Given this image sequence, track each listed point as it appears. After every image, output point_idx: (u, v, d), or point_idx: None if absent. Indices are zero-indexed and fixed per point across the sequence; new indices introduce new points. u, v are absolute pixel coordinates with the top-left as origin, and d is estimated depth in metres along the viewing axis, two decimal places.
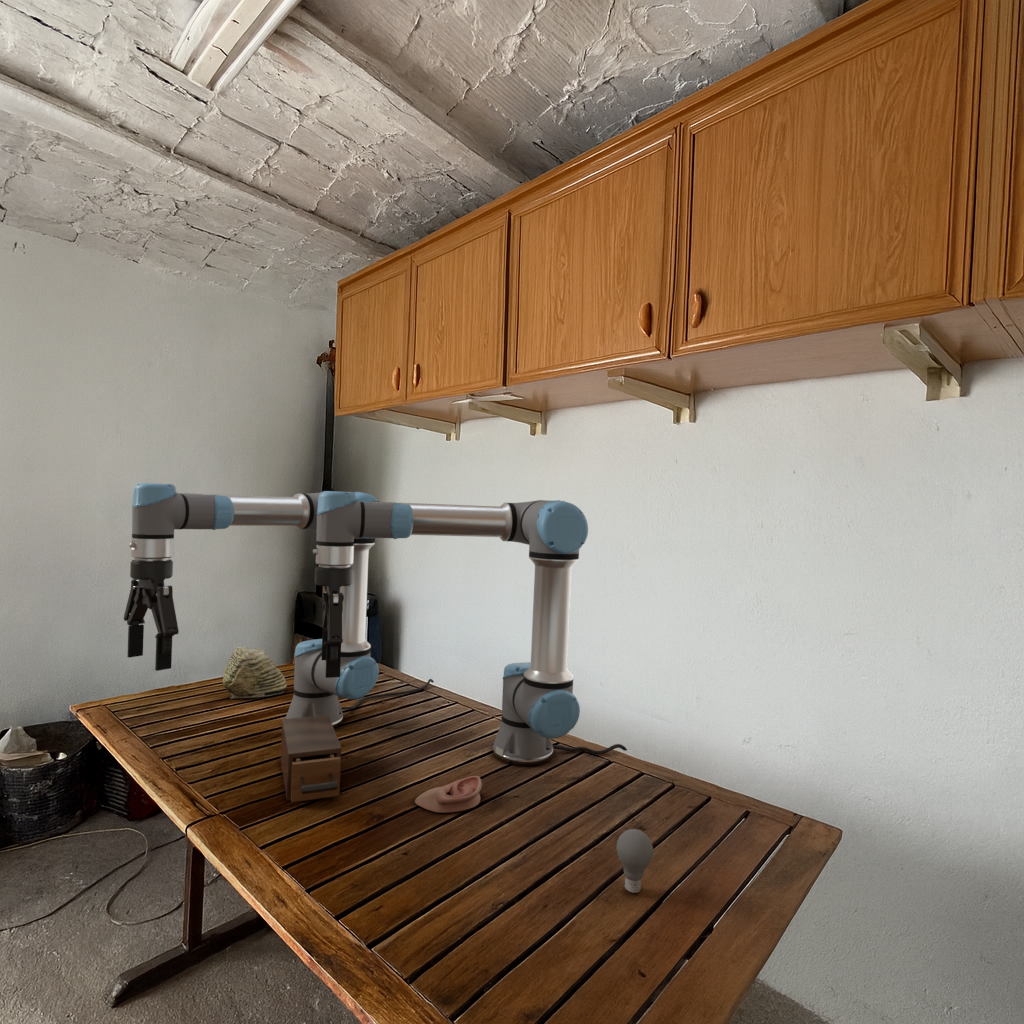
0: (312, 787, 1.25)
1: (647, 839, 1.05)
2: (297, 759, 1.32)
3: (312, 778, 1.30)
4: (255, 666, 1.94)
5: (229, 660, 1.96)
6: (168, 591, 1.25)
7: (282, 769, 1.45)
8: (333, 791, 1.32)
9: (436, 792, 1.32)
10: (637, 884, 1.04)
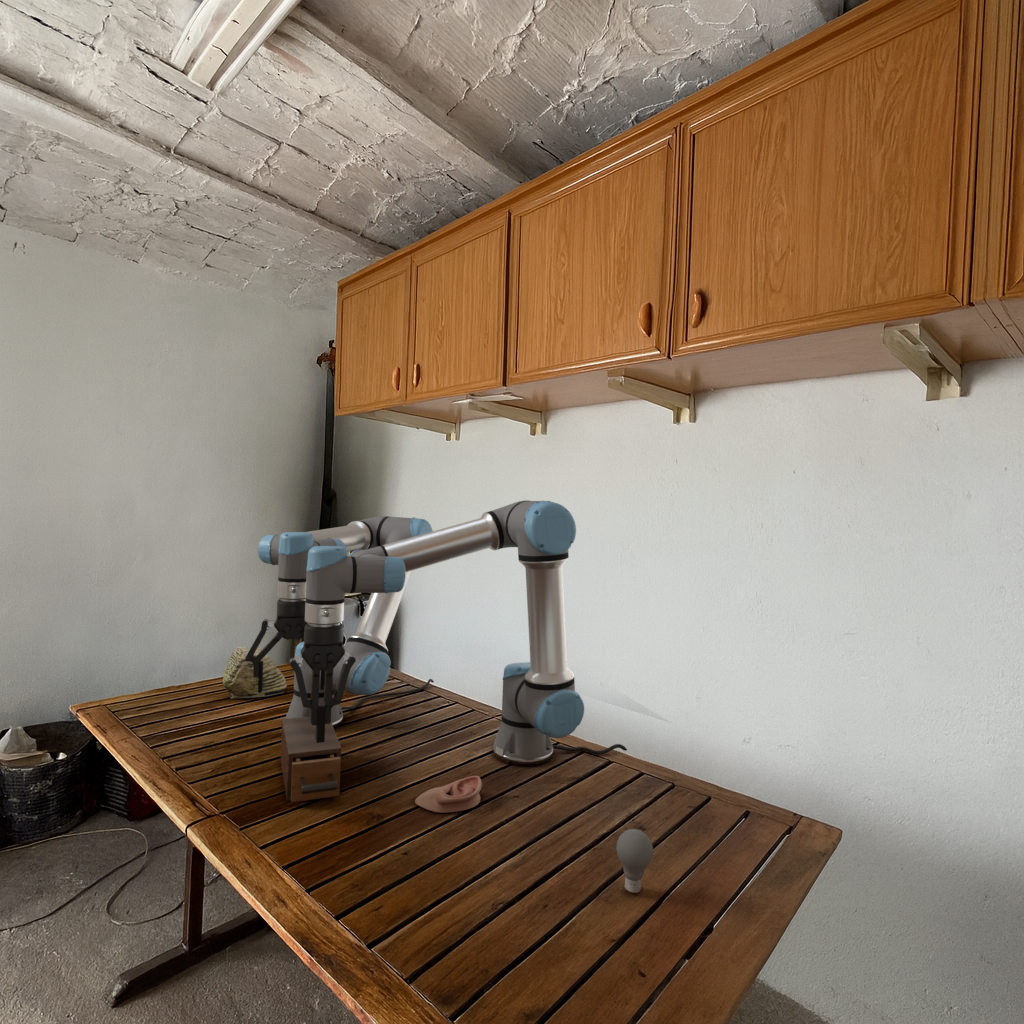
0: (312, 787, 1.24)
1: (647, 839, 1.05)
2: (297, 759, 1.32)
3: (312, 778, 1.30)
4: None
5: (229, 660, 1.96)
6: None
7: (282, 769, 1.45)
8: (333, 791, 1.32)
9: (436, 792, 1.32)
10: (637, 884, 1.04)
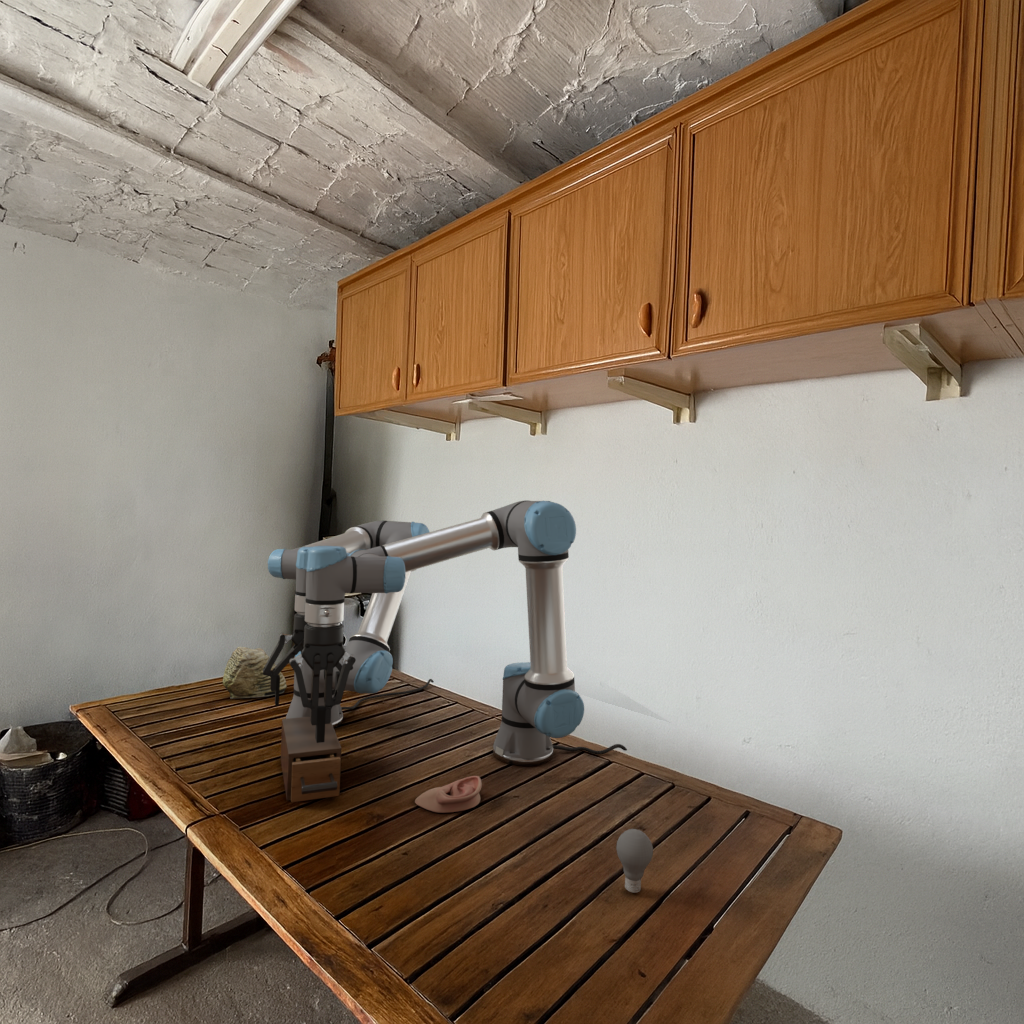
0: (312, 787, 1.24)
1: (647, 839, 1.05)
2: (297, 759, 1.32)
3: (312, 778, 1.30)
4: (255, 666, 1.94)
5: (229, 660, 1.96)
6: None
7: (282, 769, 1.45)
8: (333, 791, 1.32)
9: (436, 792, 1.32)
10: (637, 884, 1.04)
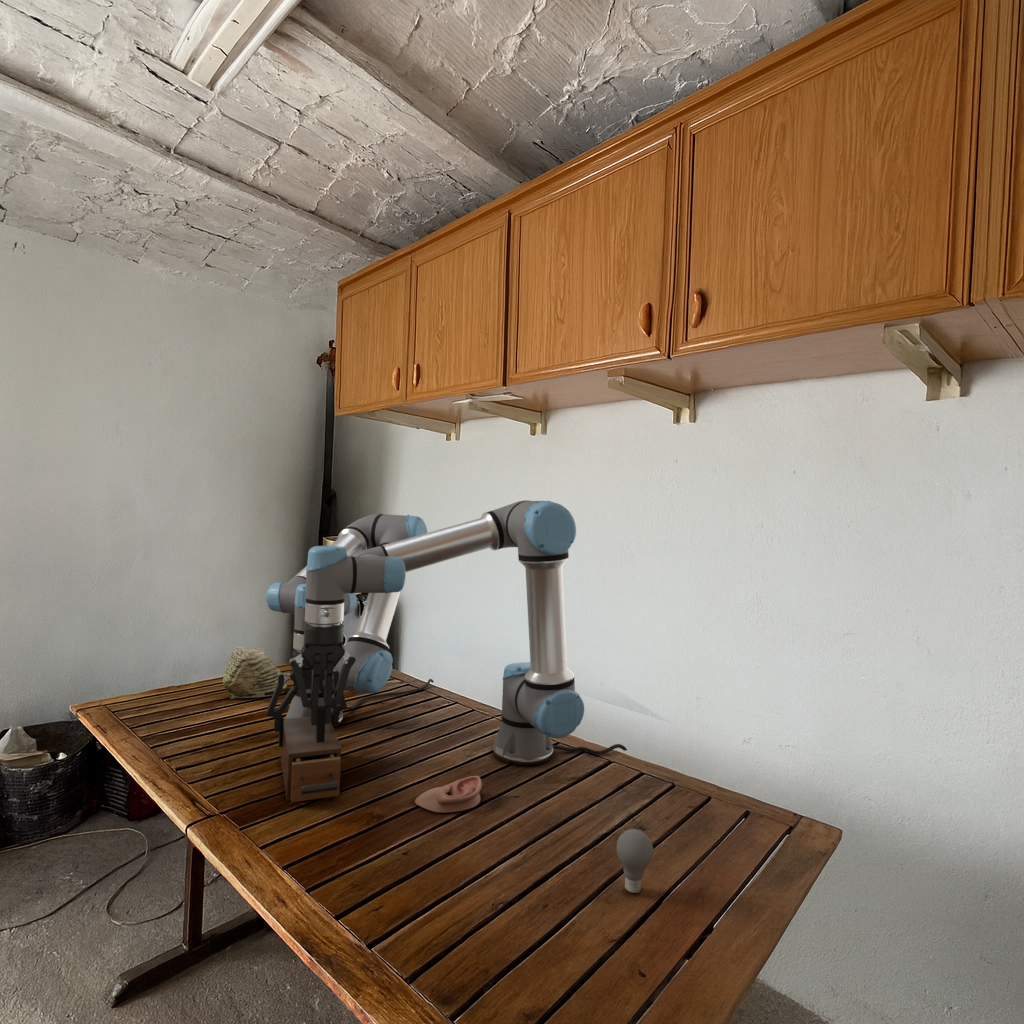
0: (312, 787, 1.24)
1: (647, 839, 1.05)
2: (297, 759, 1.32)
3: (312, 778, 1.30)
4: (255, 666, 1.94)
5: (229, 660, 1.96)
6: None
7: (282, 769, 1.45)
8: (333, 791, 1.32)
9: (436, 792, 1.32)
10: (637, 884, 1.04)
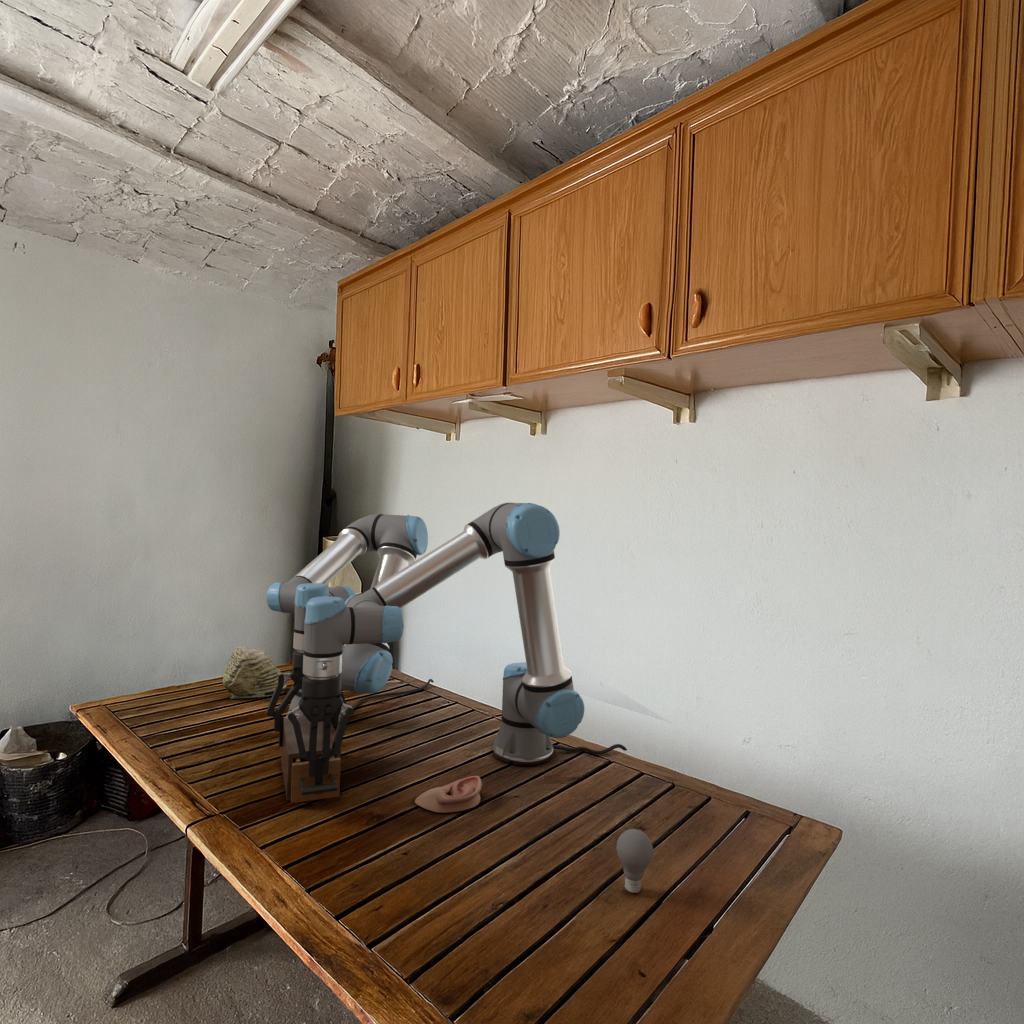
0: (312, 789, 1.24)
1: (647, 839, 1.05)
2: (297, 760, 1.32)
3: (312, 779, 1.30)
4: (255, 666, 1.94)
5: (229, 660, 1.96)
6: None
7: (282, 769, 1.45)
8: (333, 792, 1.32)
9: (436, 792, 1.32)
10: (637, 884, 1.04)
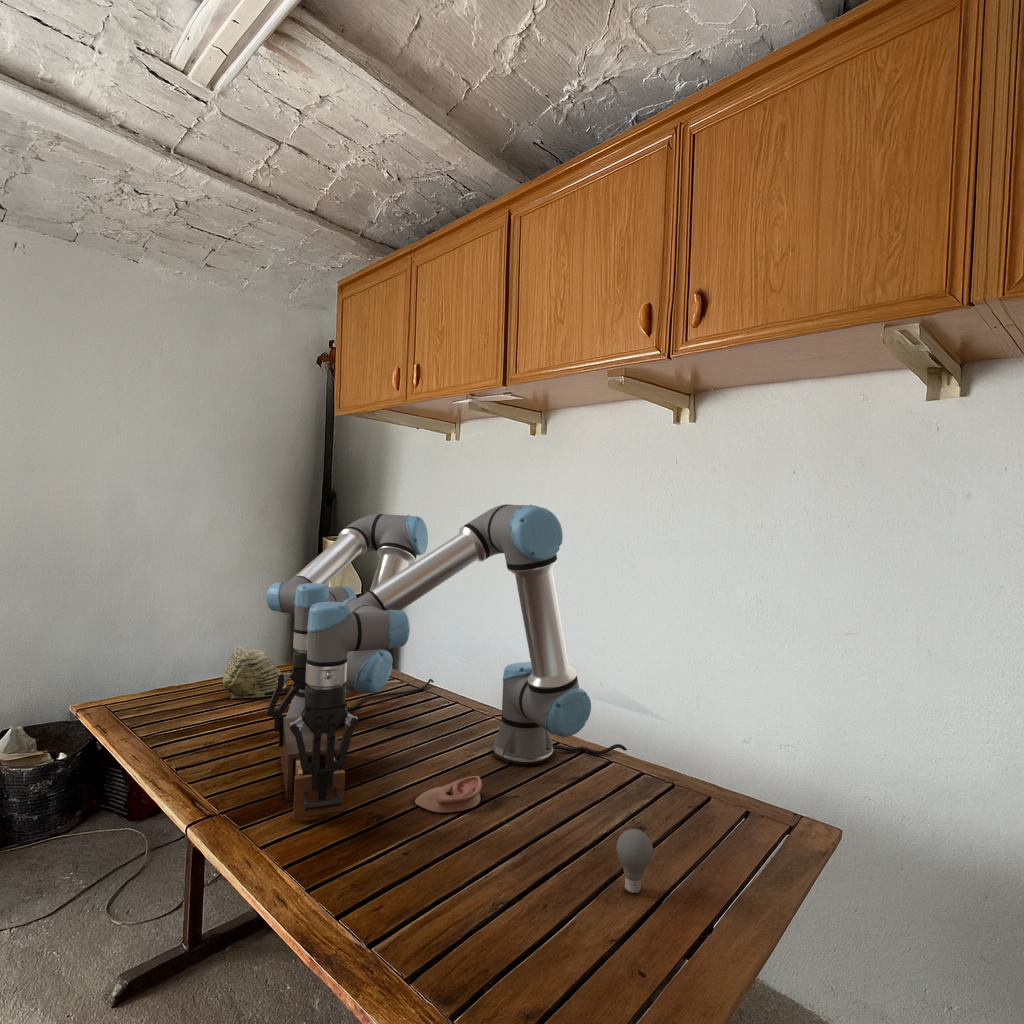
0: (316, 804, 1.18)
1: (647, 839, 1.05)
2: (300, 773, 1.26)
3: (316, 793, 1.24)
4: (255, 666, 1.94)
5: (229, 660, 1.96)
6: None
7: (282, 769, 1.45)
8: (337, 806, 1.26)
9: (436, 792, 1.32)
10: (637, 884, 1.04)
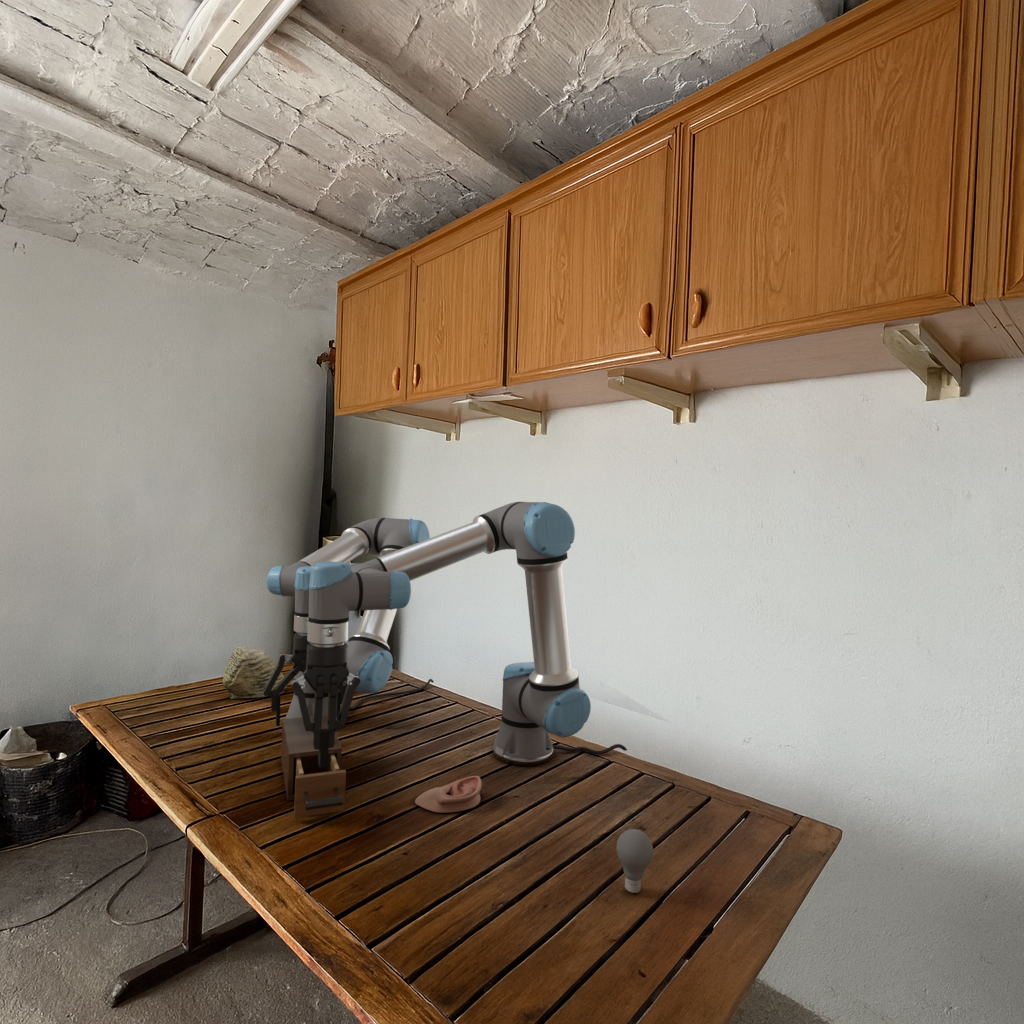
0: (317, 803, 1.18)
1: (647, 839, 1.05)
2: (300, 772, 1.26)
3: (317, 793, 1.24)
4: (255, 666, 1.94)
5: (229, 660, 1.96)
6: None
7: None
8: (338, 806, 1.26)
9: (436, 792, 1.32)
10: (637, 884, 1.04)
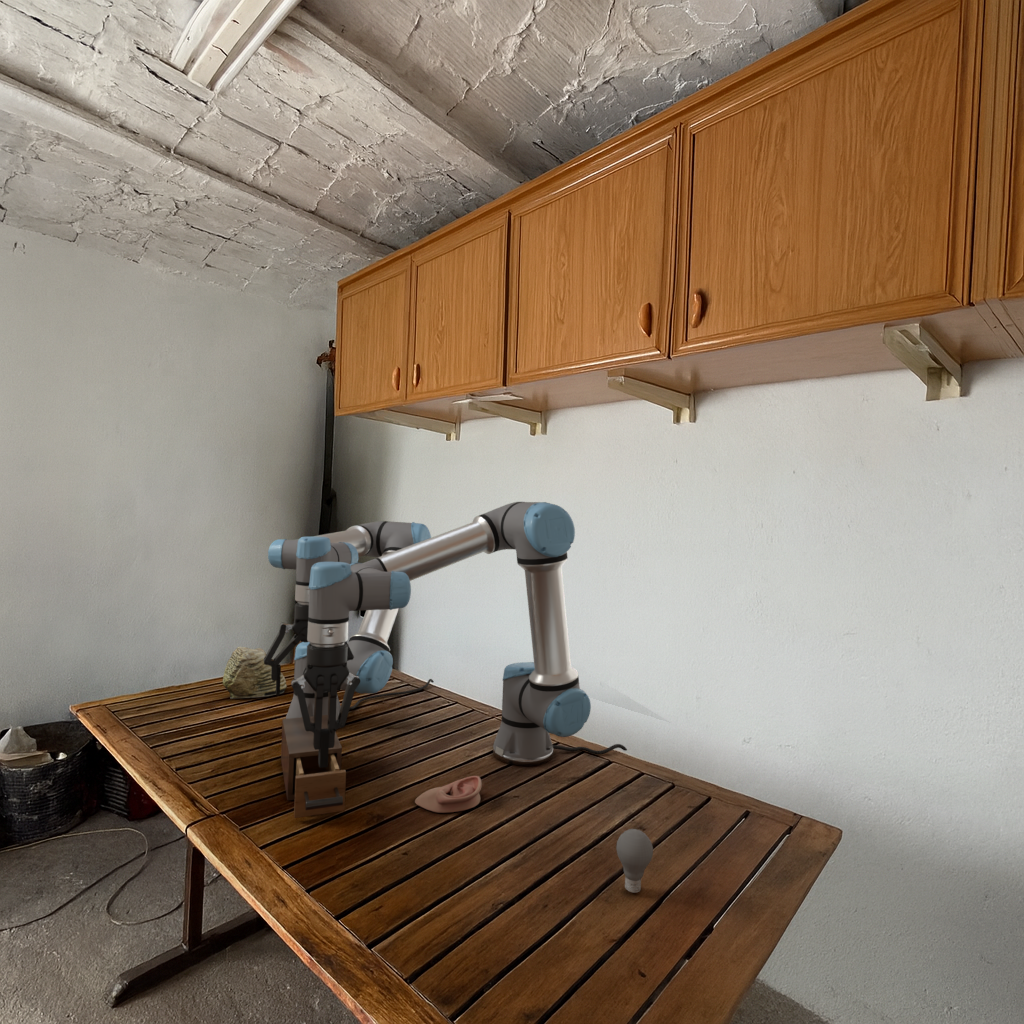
0: (317, 803, 1.18)
1: (647, 839, 1.05)
2: (300, 772, 1.26)
3: (317, 793, 1.24)
4: (255, 666, 1.94)
5: (229, 660, 1.96)
6: None
7: None
8: (338, 806, 1.26)
9: (436, 792, 1.32)
10: (637, 884, 1.04)
